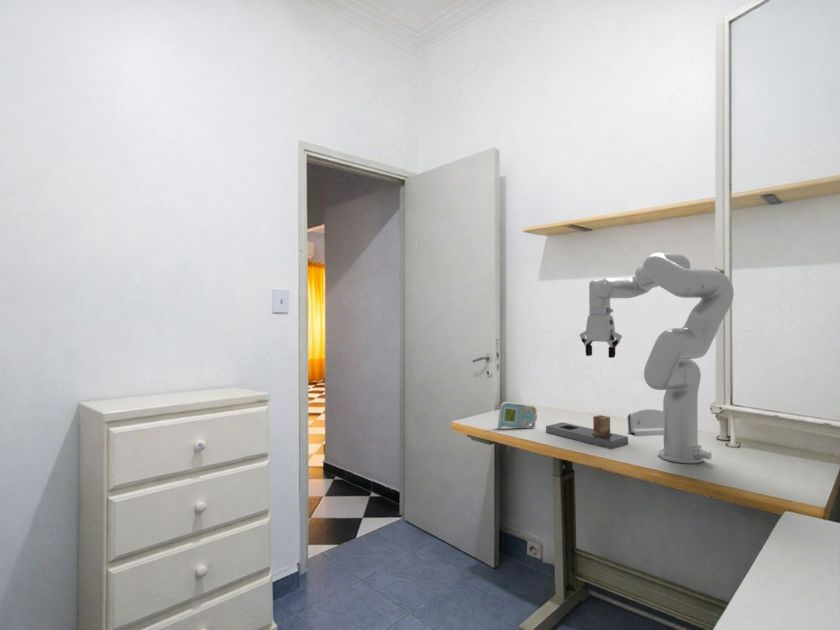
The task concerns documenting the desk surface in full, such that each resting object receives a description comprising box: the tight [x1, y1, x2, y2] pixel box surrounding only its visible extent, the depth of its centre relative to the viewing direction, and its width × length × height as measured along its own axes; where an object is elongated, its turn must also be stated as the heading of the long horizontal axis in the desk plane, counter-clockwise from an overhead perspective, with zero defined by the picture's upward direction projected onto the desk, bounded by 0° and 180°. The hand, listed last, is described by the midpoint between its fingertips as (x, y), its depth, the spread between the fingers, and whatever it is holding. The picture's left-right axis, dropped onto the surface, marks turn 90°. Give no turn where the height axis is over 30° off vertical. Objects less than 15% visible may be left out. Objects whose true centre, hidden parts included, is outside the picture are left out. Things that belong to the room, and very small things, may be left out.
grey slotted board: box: [545, 422, 629, 450], centre depth 174 cm, size 28×10×2 cm, turn 35°
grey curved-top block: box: [626, 408, 664, 437], centre depth 180 cm, size 17×5×10 cm, turn 95°
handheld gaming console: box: [497, 401, 538, 430], centre depth 190 cm, size 11×3×15 cm
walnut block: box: [592, 414, 611, 438], centre depth 168 cm, size 4×4×9 cm
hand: (600, 356), depth 181 cm, fingers open, 9 cm apart
